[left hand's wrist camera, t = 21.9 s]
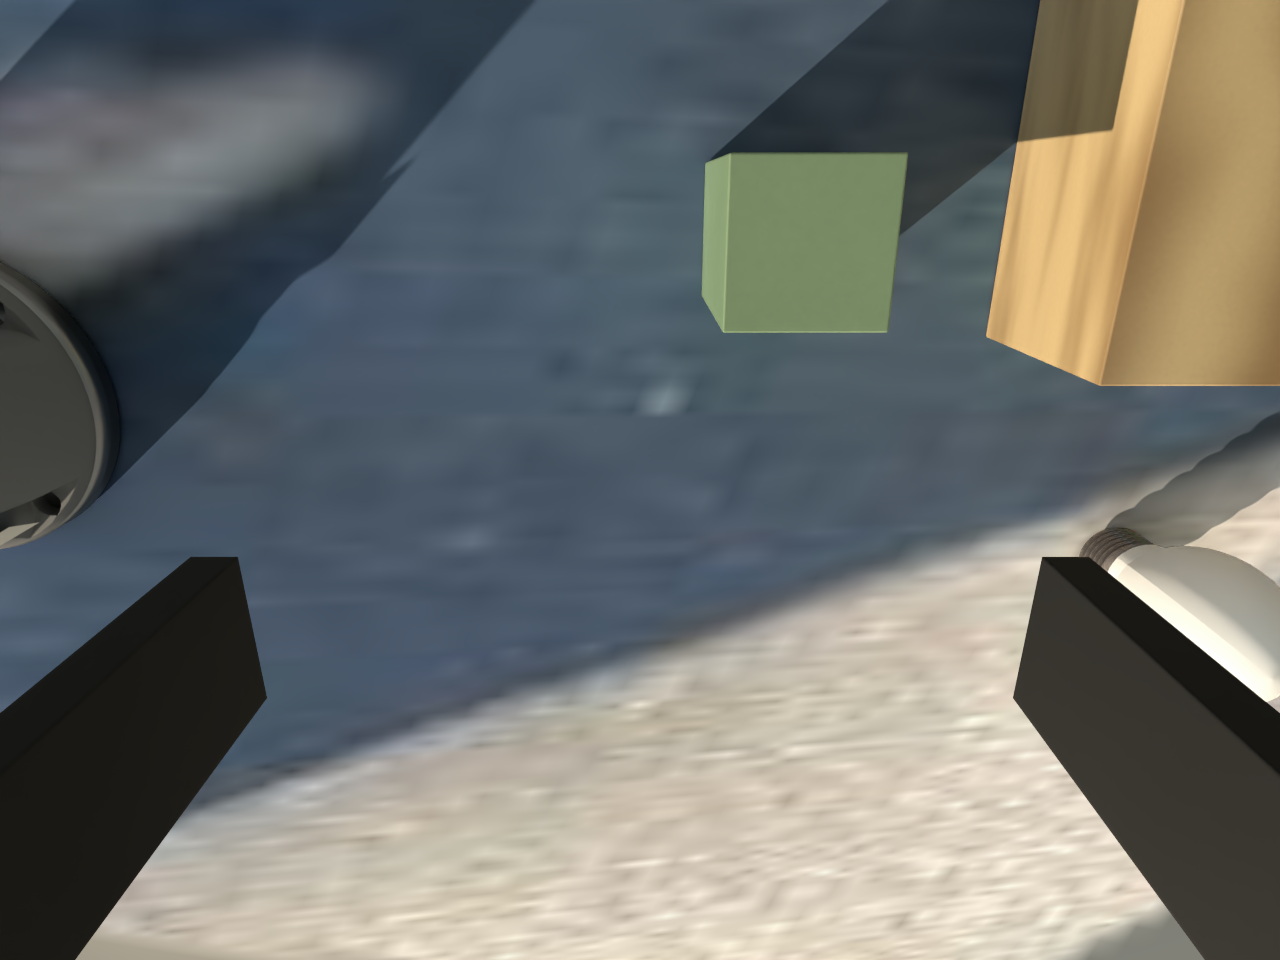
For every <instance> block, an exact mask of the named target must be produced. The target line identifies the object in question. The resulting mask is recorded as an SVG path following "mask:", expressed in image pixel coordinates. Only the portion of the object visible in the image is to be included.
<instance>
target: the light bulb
mask: <svg viewBox="0 0 1280 960" xmlns="http://www.w3.org/2000/svg"><path fill="white" fill-rule="evenodd" d="M1079 557H1090V558H1091V559H1092V560H1094V561H1095V562H1096V563H1097V564H1098V565H1100V566H1101V567H1102V568H1103V569H1104V570H1106V571H1107V572H1108V573H1109V574H1111V575H1112V576H1113V577H1114V578H1115V579H1117V580H1118V581H1119V582H1120V583H1122V584H1123V585H1124V586H1125V587H1126V588H1128V589H1129V590H1130V591H1131V592H1133V593H1134V594H1135V595H1136V596H1137V597H1139V598H1140V599H1141V600H1142V601H1144V602H1145V603H1146V604H1147V605H1148V606H1150V607H1151V608H1152V609H1153V610H1155V611H1156V612H1157V613H1158V614H1159V615H1161V616H1162V617H1163V618H1164V619H1165V620H1167V621H1168V622H1169V623H1170V624H1172V625H1173V626H1174V627H1175V628H1176V629H1178V630H1179V631H1180V632H1181V633H1183V634H1184V635H1185V636H1186V637H1187V638H1189V639H1190V640H1191V641H1192V642H1194V643H1195V644H1196V645H1197V646H1198V647H1200V648H1201V649H1202V650H1203V651H1205V652H1206V653H1207V654H1208V655H1209V656H1211V657H1212V658H1213V659H1214V660H1215V661H1217V662H1218V663H1219V664H1220V665H1222V666H1223V667H1224V668H1225V669H1226V670H1228V671H1229V672H1230V673H1231V674H1233V675H1234V676H1235V677H1236V678H1237V679H1239V680H1240V681H1241V682H1242V683H1244V684H1245V685H1246V686H1247V687H1248V688H1250V689H1251V690H1252V691H1253V692H1255V693H1256V694H1257V695H1258V696H1259V697H1261V698H1262V699H1263V700H1264V701H1265V702H1267V701H1270V700H1272V699H1274V698H1276V697H1278V696H1280V588H1279V586H1278V585H1277V584H1276V583H1275V582H1274V581H1273V580H1271V579H1270V578H1269V577H1267V576H1266V575H1265V574H1263V573H1262V572H1261V571H1259V570H1258V569H1256V568H1255V567H1253V566H1252V565H1250V564H1248V563H1246V562H1244V561H1242V560H1240V559H1238V558H1236V557H1234V556H1231V555H1228V554H1226V553H1223V552H1219V551H1216V550H1212V549H1207V548H1201V547H1191V546H1173V547H1167V548H1164V547H1161V546H1158V545H1154V544H1152V543H1151V542H1149V541H1148V540H1146V539H1145V538H1144V537H1142V536H1141V535H1139V534H1138V533H1136V532H1134V531H1132V530H1129V529H1126V528H1110V529H1106V530H1104V531H1101V532H1099V533H1097V534H1096V535H1094V536H1093V537H1091V538H1090V539H1089V540H1088V541H1087V542H1086V543H1085V545H1084V546H1083V548H1082V550H1081V552H1080V556H1079Z"/></svg>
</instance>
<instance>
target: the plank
mask: <svg viewBox="0 0 1280 960" xmlns="http://www.w3.org/2000/svg"><path fill="white" fill-rule="evenodd" d="M986 336H987V337H988V338H991V339H993V340H995V341H997V342H1000V343H1002V344H1004V345H1007V346H1009V347H1011V348H1014V349H1016V350H1018V351H1021V352H1023V353H1025V354H1028V355H1030V356H1032V357H1035V358H1037V359H1039V360H1042V361H1044V362H1046V363H1049V364H1051V365H1053V366H1055V367H1058V368H1060V369H1062V370H1065V371H1067V372H1069V373H1072V374H1074V375H1076V376H1079V377H1081V378H1083V379H1086V380H1088V381H1090V382H1093V383H1095V384H1097V385H1100V386H1280V0H1040V5H1039V12H1038V18H1037V24H1036V30H1035V36H1034V43H1033V49H1032V55H1031V61H1030V67H1029V74H1028V80H1027V86H1026V92H1025V98H1024V105H1023V111H1022V117H1021V123H1020V129H1019V136H1018V142H1017V148H1016V154H1015V160H1014V167H1013V173H1012V179H1011V185H1010V191H1009V198H1008V204H1007V210H1006V216H1005V222H1004V229H1003V235H1002V241H1001V247H1000V254H999V260H998V266H997V272H996V278H995V285H994V291H993V297H992V303H991V309H990V316H989V322H988V328H987V334H986Z"/></svg>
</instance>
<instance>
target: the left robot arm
mask: <svg viewBox="0 0 1280 960" xmlns="http://www.w3.org/2000/svg"><path fill="white" fill-rule="evenodd" d="M119 443H120V422H119V412H118V407H117V402H116V397H115V394H114V391H113V387H112V384H111V381H110V379H109V376H108V374H107V371H106V369H105V367H104V365H103V363H102V361H101V359H100V357H99V355H98V353H97V352H96V350H95V348H94V347H93V345H92V344H91V342H90V340H89V339H88V338H87V336H86V335H85V333H84V332H83V331H82V329H81V328H80V327H79V325H78V324H77V323H76V322H75V321H74V319H73V318H72V317H71V316H70V315H69V314H68V313H67V312H66V311H65V310H64V309H63V308H62V307H61V305H60V304H59V303H58V302H57V301H56V300H54V299H53V298H52V297H51V296H50V295H49V294H47V293H46V292H45V291H44V290H43V289H42V288H40V287H39V286H38V285H36V284H35V283H34V282H32V281H31V280H30V279H28V278H27V277H25V276H24V275H22V274H20V273H19V272H17V271H16V270H14V269H13V268H11V267H9V266H7V265H5V264H3V263H1V262H0V549H3V548H9V547H14V546H18V545H22V544H26V543H28V542H31V541H34V540H37V539H39V538H41V537H43V536H45V535H47V534H49V533H50V532H52V531H54V530H55V529H57V528H59V527H61V526H62V525H64V524H66V523H67V522H69V521H71V520H72V519H74V518H75V517H77V516H79V515H80V514H81V513H83V512H84V511H85V510H86V509H87V508H89V507H90V506H91V505H92V504H93V503H94V501H95V500H96V499H97V498H98V497H99V496H100V494H101V493H102V491H103V490H104V489H105V487H106V485H107V483H108V481H109V479H110V478H111V475H112V473H113V470H114V467H115V464H116V460H117V456H118V451H119ZM266 698H267V696H266V691H265V686H264V681H263V677H262V672H261V667H260V662H259V657H258V653H257V648H256V643H255V638H254V633H253V628H252V624H251V619H250V614H249V609H248V604H247V600H246V595H245V590H244V585H243V580H242V575H241V571H240V566H239V561H238V557H190V558H189V559H188V560H186V561H185V562H184V563H183V564H182V565H180V566H179V567H178V568H177V569H176V570H174V571H173V572H172V573H171V574H169V575H168V576H167V577H166V578H165V579H163V580H162V581H161V582H160V583H158V584H157V585H156V586H155V587H154V588H152V589H151V590H150V591H149V592H147V593H146V594H145V595H144V596H143V597H141V598H140V599H139V600H138V601H136V602H135V603H134V604H133V605H132V606H130V607H129V608H128V609H127V610H125V611H124V612H123V613H122V614H121V615H119V616H118V617H117V618H116V619H115V620H113V621H112V622H111V623H110V624H108V625H107V626H106V627H105V628H104V629H102V630H101V631H100V632H99V633H97V634H96V635H95V636H94V637H93V638H91V639H90V640H89V641H88V642H86V643H85V644H84V645H83V646H82V647H80V648H79V649H78V650H77V651H75V652H74V653H73V654H72V655H71V656H69V657H68V658H67V659H66V660H65V661H63V662H62V663H61V664H60V665H58V666H57V667H56V668H55V669H54V670H52V671H51V672H50V673H49V674H47V675H46V676H45V677H44V678H43V679H41V680H40V681H39V682H38V683H36V684H35V685H34V686H33V687H32V688H30V689H29V690H28V691H27V692H25V693H24V694H23V695H22V696H21V697H19V698H18V699H17V700H16V701H15V702H13V703H12V704H11V705H10V706H8V707H7V708H6V709H5V710H4V711H2V712H1V713H0V960H75V959H76V958H77V956H78V955H79V954H80V952H81V951H82V950H83V948H84V947H85V945H86V944H87V943H88V941H89V940H90V939H91V937H92V936H93V935H94V933H95V932H96V931H97V929H98V928H99V926H100V925H101V924H102V922H103V921H104V920H105V918H106V917H107V916H108V914H109V913H110V911H111V910H112V909H113V907H114V906H115V905H116V903H117V902H118V901H119V899H120V898H121V896H122V895H123V894H124V892H125V891H126V890H127V888H128V887H129V886H130V884H131V883H132V881H133V880H134V879H135V877H136V876H137V875H138V873H139V872H140V870H141V869H142V868H143V866H144V865H145V864H146V862H147V861H148V860H149V858H150V857H151V855H152V854H153V853H154V851H155V850H156V849H157V847H158V846H159V845H160V843H161V842H162V840H163V839H164V838H165V836H166V835H167V834H168V832H169V831H170V830H171V828H172V827H173V825H174V824H175V823H176V821H177V820H178V819H179V817H180V816H181V815H182V813H183V812H184V810H185V809H186V808H187V806H188V805H189V804H190V802H191V801H192V800H193V798H194V797H195V795H196V794H197V793H198V791H199V790H200V789H201V787H202V786H203V784H204V783H205V782H206V780H207V779H208V778H209V776H210V775H211V774H212V772H213V771H214V769H215V768H216V767H217V765H218V764H219V763H220V761H221V760H222V759H223V757H224V756H225V754H226V753H227V752H228V750H229V749H230V748H231V746H232V745H233V744H234V742H235V741H236V739H237V738H238V737H239V735H240V734H241V733H242V731H243V730H244V729H245V727H246V726H247V724H248V723H249V722H250V720H251V719H252V718H253V716H254V715H255V714H256V712H257V711H258V709H259V708H260V707H261V705H262V704H263V703H264V701H265V700H266ZM1013 699H1014V700H1015V701H1016V703H1017V704H1018V705H1019V707H1020V708H1021V709H1022V711H1023V712H1024V714H1025V715H1026V716H1027V718H1028V719H1029V720H1030V722H1031V723H1032V724H1033V726H1034V727H1035V729H1036V730H1037V731H1038V733H1039V734H1040V735H1041V737H1042V738H1043V739H1044V741H1045V742H1046V744H1047V745H1048V746H1049V748H1050V749H1051V750H1052V752H1053V753H1054V754H1055V756H1056V757H1057V759H1058V760H1059V761H1060V763H1061V764H1062V765H1063V767H1064V768H1065V769H1066V771H1067V772H1068V774H1069V775H1070V776H1071V778H1072V779H1073V780H1074V782H1075V783H1076V784H1077V786H1078V787H1079V789H1080V790H1081V791H1082V793H1083V794H1084V795H1085V797H1086V798H1087V800H1088V801H1089V802H1090V804H1091V805H1092V806H1093V808H1094V809H1095V810H1096V812H1097V813H1098V815H1099V816H1100V817H1101V819H1102V820H1103V821H1104V823H1105V824H1106V825H1107V827H1108V828H1109V830H1110V831H1111V832H1112V834H1113V835H1114V836H1115V838H1116V839H1117V840H1118V842H1119V843H1120V845H1121V846H1122V847H1123V849H1124V850H1125V851H1126V853H1127V854H1128V855H1129V857H1130V858H1131V860H1132V861H1133V862H1134V864H1135V865H1136V866H1137V868H1138V869H1139V870H1140V872H1141V873H1142V875H1143V876H1144V877H1145V879H1146V880H1147V881H1148V883H1149V884H1150V886H1151V887H1152V888H1153V890H1154V891H1155V892H1156V894H1157V895H1158V896H1159V898H1160V899H1161V901H1162V902H1163V903H1164V905H1165V906H1166V907H1167V909H1168V910H1169V911H1170V913H1171V914H1172V916H1173V917H1174V918H1175V920H1176V921H1177V922H1178V924H1179V925H1180V926H1181V928H1182V929H1183V931H1184V932H1185V933H1186V935H1187V936H1188V937H1189V939H1190V940H1191V941H1192V943H1193V944H1194V946H1195V947H1196V948H1197V950H1198V951H1199V952H1200V954H1201V955H1202V956H1203V958H1204V959H1205V960H1280V713H1279V712H1278V711H1276V710H1275V709H1274V708H1273V707H1272V706H1270V705H1269V704H1268V703H1267V702H1265V701H1264V700H1263V699H1262V698H1261V697H1259V696H1258V695H1257V694H1256V693H1255V692H1253V691H1252V690H1251V689H1250V688H1248V687H1247V686H1246V685H1245V684H1244V683H1242V682H1241V681H1240V680H1239V679H1237V678H1236V677H1235V676H1234V675H1233V674H1231V673H1230V672H1229V671H1228V670H1226V669H1225V668H1224V667H1223V666H1222V665H1220V664H1219V663H1218V662H1217V661H1215V660H1214V659H1213V658H1212V657H1211V656H1209V655H1208V654H1207V653H1206V652H1205V651H1203V650H1202V649H1201V648H1200V647H1198V646H1197V645H1196V644H1195V643H1194V642H1192V641H1191V640H1190V639H1189V638H1187V637H1186V636H1185V635H1184V634H1183V633H1181V632H1180V631H1179V630H1178V629H1176V628H1175V627H1174V626H1173V625H1172V624H1170V623H1169V622H1168V621H1167V620H1165V619H1164V618H1163V617H1162V616H1161V615H1159V614H1158V613H1157V612H1156V611H1155V610H1153V609H1152V608H1151V607H1150V606H1148V605H1147V604H1146V603H1145V602H1144V601H1142V600H1141V599H1140V598H1139V597H1137V596H1136V595H1135V594H1134V593H1133V592H1131V591H1130V590H1129V589H1128V588H1126V587H1125V586H1124V585H1123V584H1122V583H1120V582H1119V581H1118V580H1117V579H1115V578H1114V577H1113V576H1112V575H1111V574H1109V573H1108V572H1107V571H1106V570H1104V569H1103V568H1102V567H1101V566H1100V565H1098V564H1097V563H1096V562H1095V561H1094V560H1092V559H1091V558H1090V557H1042V561H1041V566H1040V571H1039V575H1038V580H1037V585H1036V590H1035V595H1034V600H1033V604H1032V609H1031V614H1030V619H1029V624H1028V628H1027V633H1026V638H1025V643H1024V648H1023V653H1022V657H1021V662H1020V667H1019V672H1018V677H1017V681H1016V686H1015V691H1014V696H1013Z"/></svg>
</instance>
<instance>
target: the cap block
mask: <svg viewBox="0 0 1280 960" xmlns="http://www.w3.org/2000/svg"><path fill="white" fill-rule="evenodd" d="M907 161H908V153H906V152H751V153H729V154H726V155H724V156H721V157H719V158H716V159H714V160H711V161H709V162H706V164H705V198H704V235H703V272H702V297H703V298H704V300H705V302H706V303H707V305H708V307H709V309H710V310H711V312H712V314H713V316H714V317H715V319H716V321H717V322H718V324H719V326H720V328H721V329H722V331H723V332H724V333H768V332H888V328H889V319H890V311H891V302H892V293H893V284H894V275H895V267H896V258H897V249H898V240H899V232H900V223H901V214H902V205H903V196H904V188H905V179H906V170H907Z"/></svg>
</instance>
